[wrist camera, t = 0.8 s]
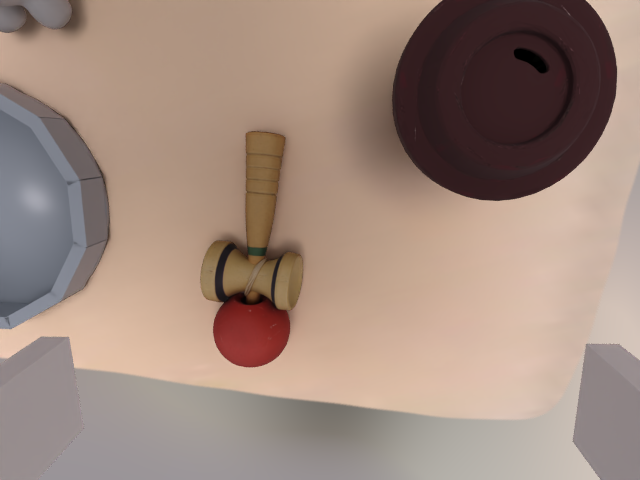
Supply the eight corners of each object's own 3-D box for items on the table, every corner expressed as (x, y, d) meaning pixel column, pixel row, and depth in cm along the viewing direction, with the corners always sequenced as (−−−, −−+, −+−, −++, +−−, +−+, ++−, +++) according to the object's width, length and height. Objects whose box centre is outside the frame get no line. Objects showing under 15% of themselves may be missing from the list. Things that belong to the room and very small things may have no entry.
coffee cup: (409, 199, 35) (455, 242, 20) (353, 82, 33) (360, 35, 18) (529, 141, 33) (675, 141, 18) (478, 15, 31) (593, -95, 17)
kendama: (215, 135, 36) (203, 350, 37) (205, 122, 30) (191, 380, 31) (309, 144, 37) (293, 352, 38) (319, 133, 31) (299, 382, 32)
